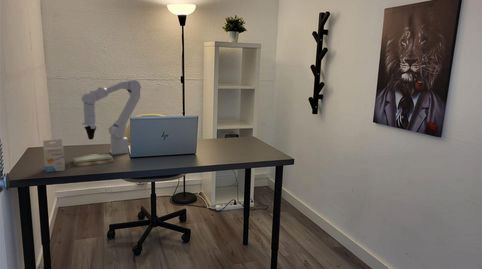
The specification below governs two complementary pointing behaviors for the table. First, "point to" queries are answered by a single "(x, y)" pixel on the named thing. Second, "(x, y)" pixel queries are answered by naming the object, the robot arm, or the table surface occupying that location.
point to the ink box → (53, 155)
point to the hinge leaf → (92, 157)
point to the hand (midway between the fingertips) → (90, 139)
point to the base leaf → (92, 161)
